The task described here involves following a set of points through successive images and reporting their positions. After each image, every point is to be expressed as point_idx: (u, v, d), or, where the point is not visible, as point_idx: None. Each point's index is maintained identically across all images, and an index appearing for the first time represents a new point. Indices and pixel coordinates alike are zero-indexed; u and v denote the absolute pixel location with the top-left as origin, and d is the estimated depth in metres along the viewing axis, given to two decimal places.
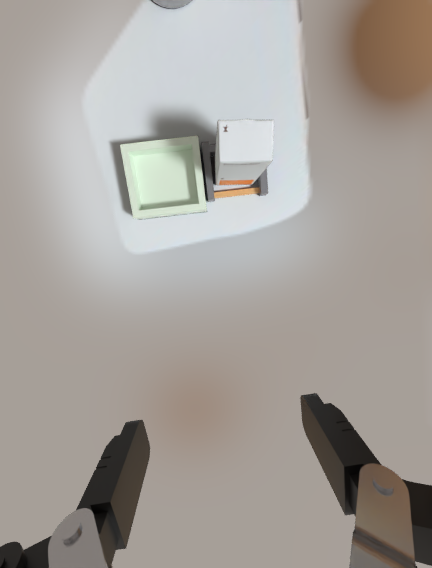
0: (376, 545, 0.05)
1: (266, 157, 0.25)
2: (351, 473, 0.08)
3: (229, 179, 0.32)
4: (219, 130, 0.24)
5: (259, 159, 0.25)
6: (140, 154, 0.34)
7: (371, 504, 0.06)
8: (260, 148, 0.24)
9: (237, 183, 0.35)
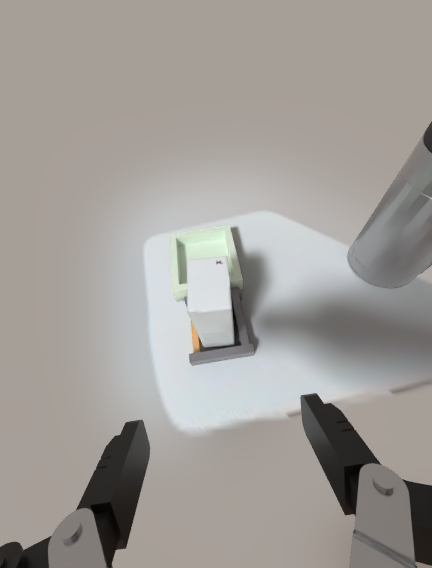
0: (376, 545, 0.05)
1: (190, 304, 0.20)
2: (351, 473, 0.08)
3: None
4: (217, 257, 0.23)
5: (188, 296, 0.21)
6: (226, 242, 0.38)
7: (371, 504, 0.06)
8: (200, 297, 0.21)
9: None
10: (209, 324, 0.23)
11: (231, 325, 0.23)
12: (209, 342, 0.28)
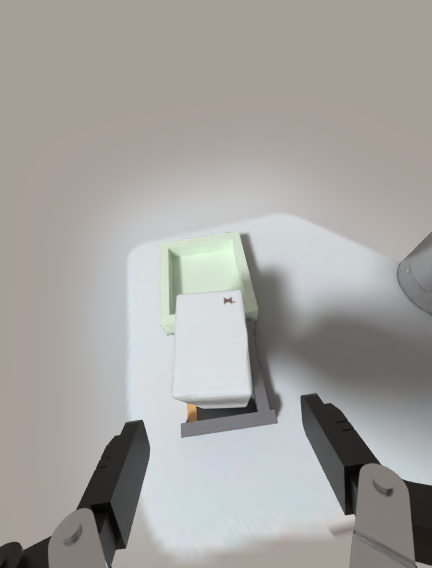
0: (376, 545, 0.05)
1: (178, 381, 0.11)
2: (351, 473, 0.08)
3: None
4: (225, 291, 0.14)
5: (175, 366, 0.12)
6: (234, 254, 0.29)
7: (371, 504, 0.06)
8: (196, 367, 0.12)
9: None
10: (211, 402, 0.14)
11: (247, 401, 0.14)
12: (211, 407, 0.19)
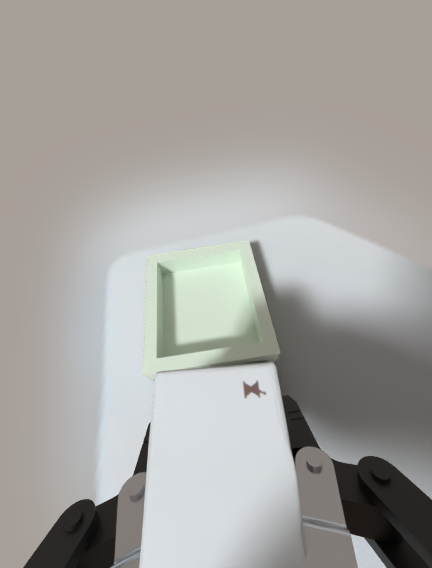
0: (317, 523, 0.06)
1: None
2: None
3: None
4: (246, 368, 0.07)
5: (144, 561, 0.05)
6: (242, 269, 0.22)
7: (299, 480, 0.07)
8: None
9: None
10: None
11: None
12: None
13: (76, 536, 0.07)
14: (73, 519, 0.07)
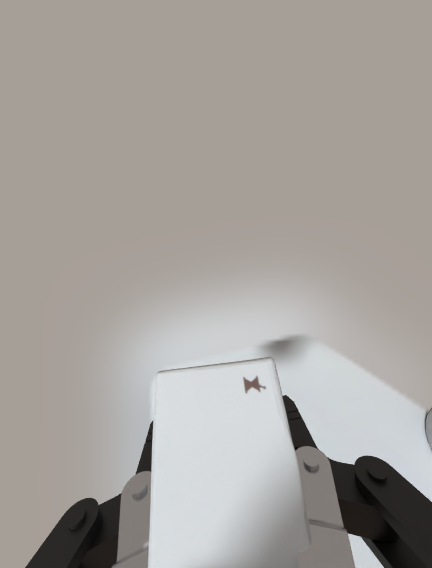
0: (314, 523, 0.06)
1: None
2: None
3: None
4: (245, 364, 0.08)
5: (153, 558, 0.05)
6: None
7: None
8: (200, 563, 0.05)
9: None
10: None
11: None
12: None
13: (79, 534, 0.07)
14: (77, 518, 0.07)
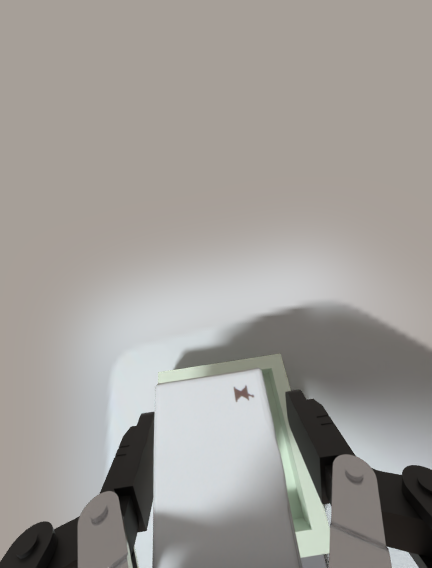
0: (351, 534, 0.06)
1: None
2: (326, 464, 0.08)
3: None
4: (235, 375, 0.09)
5: (157, 550, 0.06)
6: (273, 387, 0.19)
7: (341, 491, 0.07)
8: (197, 552, 0.06)
9: None
10: None
11: None
12: None
13: (28, 564, 0.06)
14: (27, 545, 0.07)
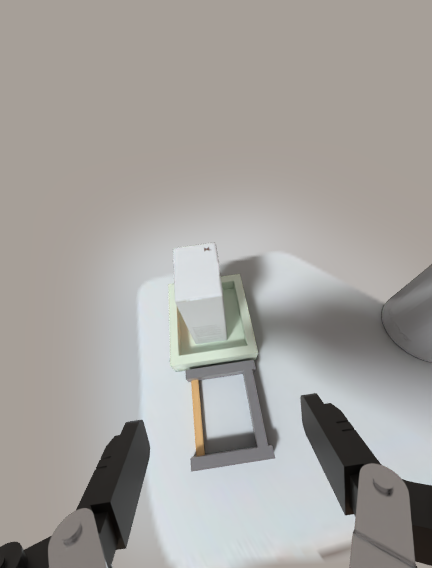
0: (376, 545, 0.05)
1: (178, 293, 0.19)
2: (351, 473, 0.08)
3: None
4: (205, 244, 0.22)
5: (175, 286, 0.19)
6: (235, 294, 0.32)
7: (371, 504, 0.06)
8: (189, 285, 0.19)
9: None
10: (199, 316, 0.21)
11: (223, 316, 0.22)
12: (201, 337, 0.27)
13: None
14: None
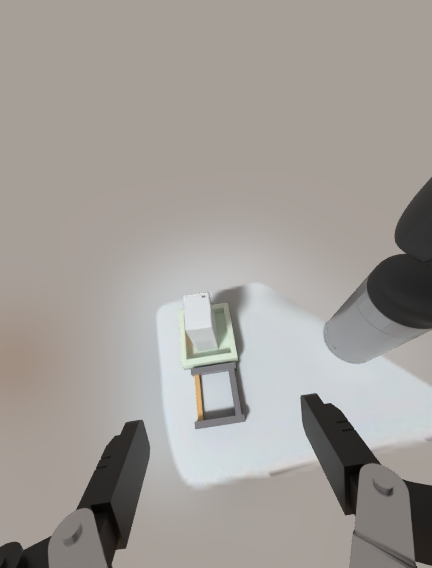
0: (376, 545, 0.05)
1: (187, 325, 0.33)
2: (351, 473, 0.08)
3: None
4: (202, 293, 0.36)
5: (185, 320, 0.34)
6: (224, 316, 0.46)
7: (371, 504, 0.06)
8: (193, 320, 0.34)
9: None
10: (199, 336, 0.36)
11: (213, 336, 0.36)
12: (201, 347, 0.41)
13: None
14: None
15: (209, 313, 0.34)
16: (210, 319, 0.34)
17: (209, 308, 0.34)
